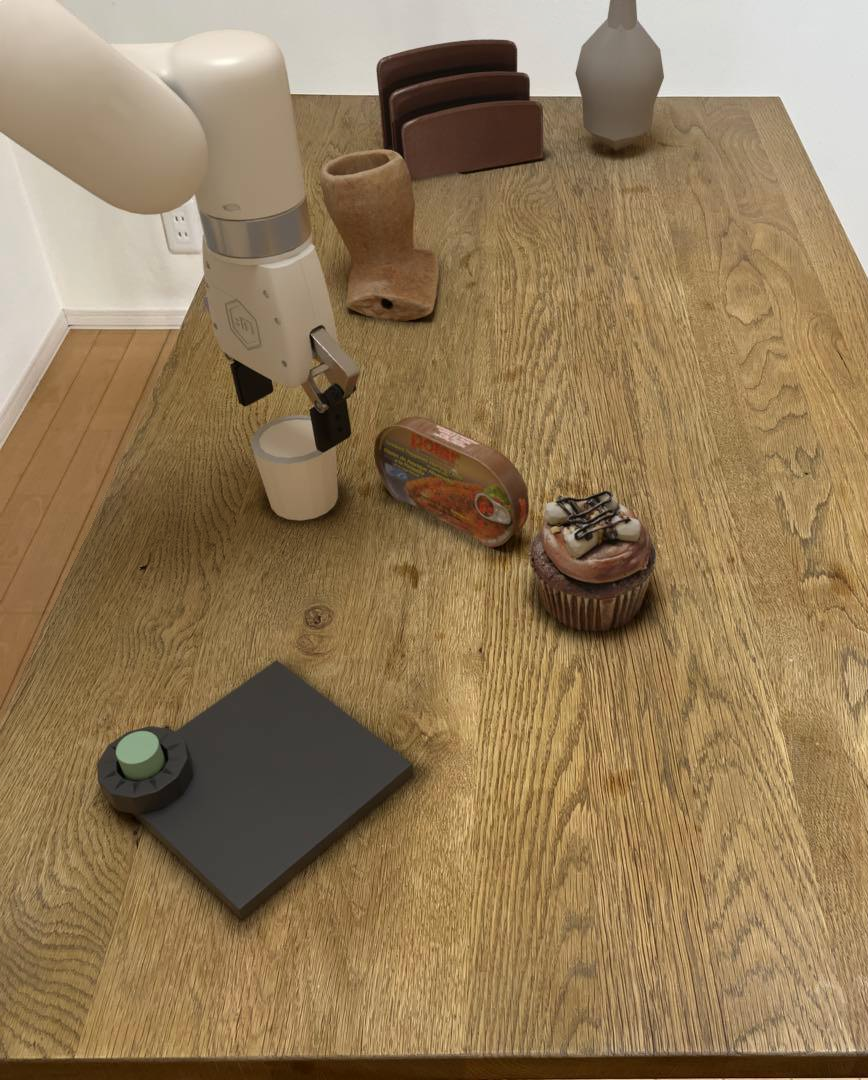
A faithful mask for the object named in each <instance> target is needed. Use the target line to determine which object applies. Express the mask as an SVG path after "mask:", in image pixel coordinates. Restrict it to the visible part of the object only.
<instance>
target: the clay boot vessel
mask: <svg viewBox="0 0 868 1080" xmlns="http://www.w3.org/2000/svg"><path fill="white" fill-rule="evenodd" d="M319 183H320V188H321V191H322V192H321V193H322V196H323V197H322V198H323V202H324V206H325V208H326V211H327V214H328V215H329V217H330V219H331V221H332V223H333V225H334V226H335V228H336V230H337V233H338V234H339V236H340V238H341V240H342V242H343V244H344V246H345V248H346V250H347V252H348V255H349V256H350V259H351V262H352V268H351V270H350V272H349V277H348V283H347V296H346V300H345V303H346V307H347V308H348V309H350V310H351V311H354V312H356V313H359V314H361V315H363V316H366V317H370V318H375V319H385V320H394V321H398V322H399V321H400V322H408V321H414V320H418V319H421V318H425V317H427V316H429V315H431V313H432V312H434V308H435V304H436V300H437V294H438V285H439V277H440V262H439V258H438V255H437V254H436V252H434V251H431V250H427V249H416V248H414V221H415V220H414V219H415V206H416V201H415V195H414V189H413V183H412V180H411V178H410V174H409V170H408V167H407V165H406V163H405V161H404V159H403V158H402V157H401V155H400V154H398V153H397V152H395V151H392V150H385V149H384V148H383V149H382V148H381V149H380V148H379V149H378V148H376V149H370V150H360V151H355V152H351V153H348V154H343V155H341V156H338V157H336V158H332V159H331V160H329V161H328V162H326V163H325V164H324V165H323V166H322V168H321V170H320V172H319Z"/></svg>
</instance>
